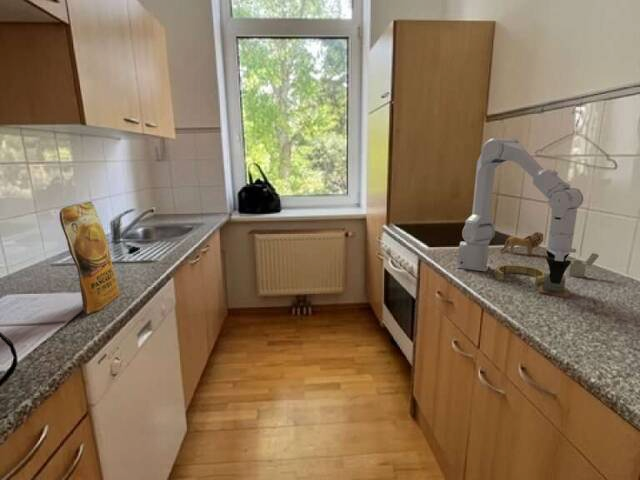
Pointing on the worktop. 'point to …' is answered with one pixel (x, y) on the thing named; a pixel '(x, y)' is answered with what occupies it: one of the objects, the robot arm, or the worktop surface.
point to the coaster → (553, 292)
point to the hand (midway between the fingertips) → (554, 279)
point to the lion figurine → (524, 242)
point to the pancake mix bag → (90, 255)
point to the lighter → (581, 266)
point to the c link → (553, 284)
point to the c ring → (520, 269)
